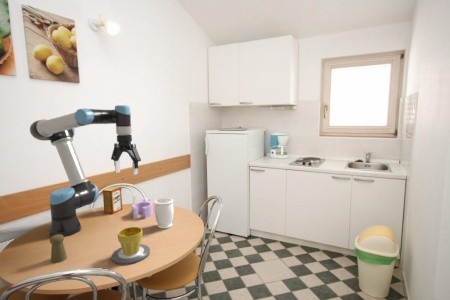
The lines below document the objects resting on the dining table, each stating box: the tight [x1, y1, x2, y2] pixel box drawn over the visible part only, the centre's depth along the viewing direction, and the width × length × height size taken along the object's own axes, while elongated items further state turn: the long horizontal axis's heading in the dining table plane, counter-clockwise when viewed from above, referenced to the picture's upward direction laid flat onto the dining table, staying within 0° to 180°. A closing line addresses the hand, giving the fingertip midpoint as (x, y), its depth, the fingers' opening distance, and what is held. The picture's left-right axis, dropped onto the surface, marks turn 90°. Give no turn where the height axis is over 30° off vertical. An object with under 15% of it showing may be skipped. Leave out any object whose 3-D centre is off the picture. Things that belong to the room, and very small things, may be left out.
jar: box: [154, 197, 175, 230], centre depth 148 cm, size 11×10×15 cm
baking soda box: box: [102, 186, 123, 215], centre depth 174 cm, size 10×6×16 cm
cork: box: [49, 234, 68, 264], centre depth 114 cm, size 6×6×11 cm
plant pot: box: [117, 226, 144, 255], centre depth 117 cm, size 10×10×10 cm
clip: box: [131, 198, 154, 220], centre depth 170 cm, size 20×12×7 cm, turn 2°
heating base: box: [111, 243, 151, 266], centre depth 117 cm, size 16×16×1 cm
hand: (126, 173), depth 142 cm, fingers open, 13 cm apart
